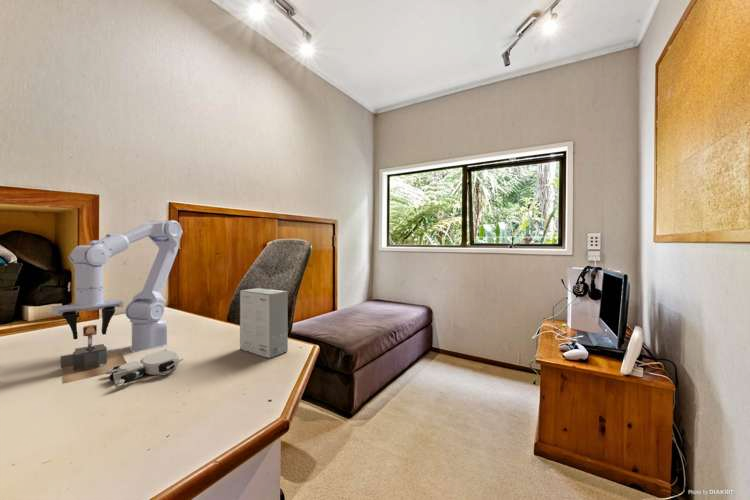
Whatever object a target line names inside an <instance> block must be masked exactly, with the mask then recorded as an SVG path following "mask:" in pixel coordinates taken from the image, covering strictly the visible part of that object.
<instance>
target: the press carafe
mask: <svg viewBox="0 0 750 500" xmlns="http://www.w3.org/2000/svg"><path fill="white" fill-rule="evenodd" d="M107 350H108V349H107V345H106V346H105V345H104V343H100V344H95V345H92V349H91V350H88V346H82V347H77V348H74V351H73V352H72V354H64V355H60V369H62V368H64V367H69V366H73V370H75V371H84V370H90V369H95V368H98V367H101V366H103V365H105V364H106V363H107V354H108V352H107Z"/></svg>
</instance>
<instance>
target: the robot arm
mask: <svg viewBox="0 0 750 500" xmlns="http://www.w3.org/2000/svg"><path fill="white" fill-rule="evenodd" d="M183 232H184V231H183V229H182V227H181V225H180V222H178V221H177V220H173V219H172V220H171V219H170V220H154V219H153V220H149V221H146V222H143V224H141V225H138V226H136V227H134V228H132V229H131V230H129V231H127V232H124V233H122V234H120V233H113V232H112V233H111V232H110V233H105V236H104V237H102V238H100V239H95V240H90V241H89V243H88V244H87V245H84V244H82V245H80V244H79V245H77V246H75V247H74V248H73V250H72V251H71V253H70V254H69V255H68V260H69V261H70V262H71V264H72V265H73V270H74V273H75V274H74V276H75V278H74V279H75V280H74V284H75V286H74V289H75V291H74V295H75V303H72V304H64V305H57V306H52V307H51V314H52V316H56V315H57V316H58V315H62V316H63V318H64V320H65V321H66V322H67V324H68V325H69V327H70V329H71V332H72V338H73V340H78V336H79V335H78V326H77V325H78V322H77V321H78V315H77V313H79V312H87V311H97V310H101V321H102V322H101V335H103V336H104V335H106V334H107V331H108V327H109V325H110V322H111V319H112V318H113V316H114V315H115V313H116V308H124V300H123V299H114V300H104V265H105V264H107V263H108V261H109V259H110V258H112V257H114V256H116V255H118V254H120V253H122V252H124V251H126V250H128V248H129V245H130V244H132V243H135V242H137V241H140V240H142V239H144V238H147V237H148V238H149V239H150V240H151V241H152V242H153V243H154V244H155V246H156V247H157V248H158V251H157V254H156V256H155V259H154V261H153V264H152V266H151V269H150V271H149V273H148V276H147V278H146V281H145V283H144V285H143V287H142V291H140V292H138V293H137V294H135V295H134V296H133V298H132V300H131V301H130V302H129V303H128V304H127V306H126V307H125V312H124V314H125V317H126V318H127V319H129V323H131V345H129V346H128V348H129V350H130V351H131V353H136V352H137V353H138V352H143V351H146V350H151V349H157V348H163V347H167V346H168V325H167V321H166V319H165V318H162V317H163V316H164V314H165V305H166V302H167V301H166V299H165V298H164V297H163V296H162V293H163V290H164V288H165V285H166V282H167V280H168V277H169V274H170V272H171V270H172V267H173V264H174V261H175V258H176V257H177V254H178V251H179V248H180V245H179V244H180V240H181V237H182V235H183ZM161 318H162V319H161Z"/></svg>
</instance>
